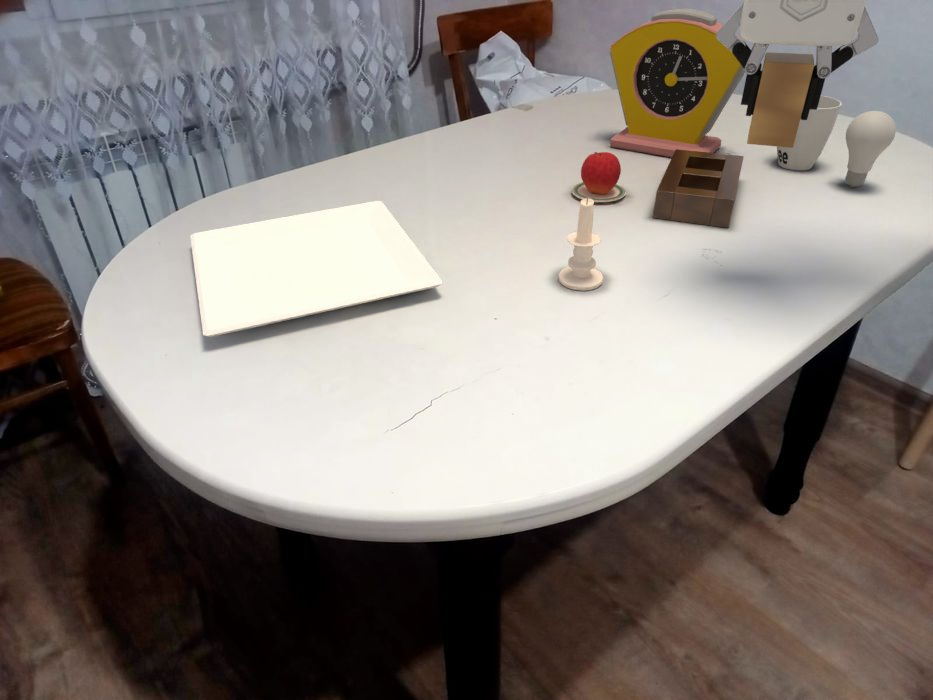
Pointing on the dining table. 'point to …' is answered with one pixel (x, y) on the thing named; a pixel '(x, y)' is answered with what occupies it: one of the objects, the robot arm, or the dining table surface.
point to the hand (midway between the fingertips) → (776, 112)
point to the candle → (582, 253)
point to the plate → (304, 266)
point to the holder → (699, 188)
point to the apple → (600, 178)
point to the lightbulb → (867, 143)
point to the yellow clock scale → (673, 82)
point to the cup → (810, 136)
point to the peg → (780, 99)
